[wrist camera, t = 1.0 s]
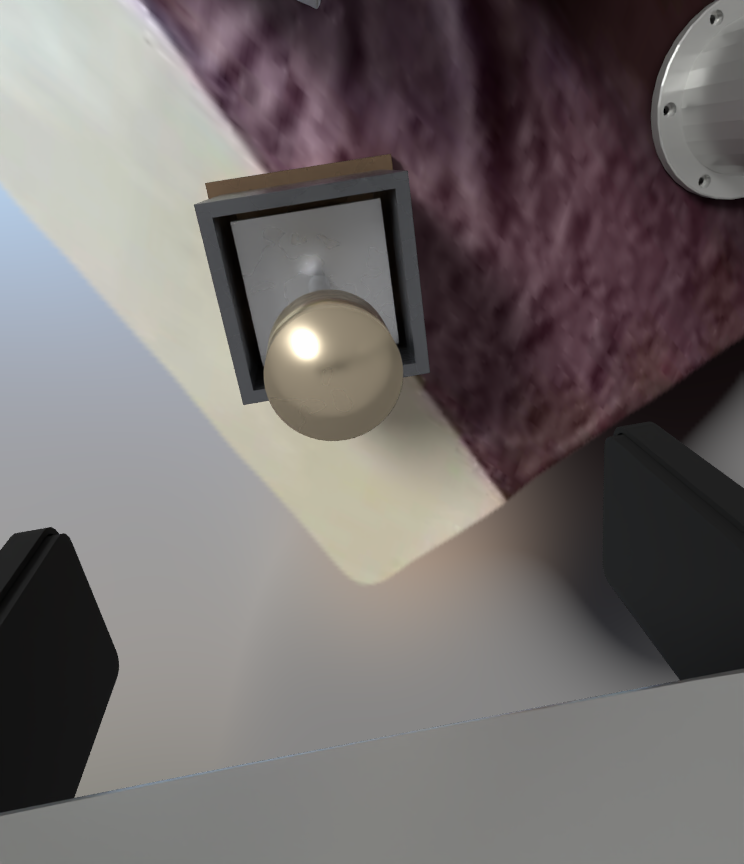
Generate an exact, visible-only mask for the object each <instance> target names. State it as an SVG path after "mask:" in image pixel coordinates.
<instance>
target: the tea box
mask: <svg viewBox="0 0 744 864" xmlns="http://www.w3.org/2000/svg"><path fill="white" fill-rule="evenodd" d="M297 1H300V2H302V3H304V4H307V5H309V6H311V7H313V8H315V9H318V7H319V5H320V2H321V0H297Z"/></svg>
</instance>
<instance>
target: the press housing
mask: <svg viewBox="0 0 744 864" xmlns="http://www.w3.org/2000/svg"><path fill="white" fill-rule="evenodd" d="M205 185H206V189H207V193H208V198H209V199H208V200H205V201H203V202H200V203H197V204H195V205H194V207H195V211H196V215H197V219H198V223H199V227H200V231H201V235H202V239H203V243H204V247H205V251H206V256H207V260H208V264H209V268H210V272H211V276H212V280H213V284H214V288H215V292H216V296H217V300H218V304H219V308H220V312H221V316H222V320H223V324H224V328H225V332H226V336H227V341H228V345H229V349H230V353H231V357H232V361H233V365H234V369H235V373H236V377H237V381H238V385H239V389H240V393H241V397H242V401H243V405H246V404H252V403H258V402H264V401H269V399H268V397H267V393H266V390H265V385H264V366H263V364H262V360H261V355H260V351H259V346H258V342H257V338H256V333H255V329H254V324H253V320H252V315H251V311H250V307H249V302H248V298H247V293H246V289H245V285H244V280H243V276H242V271H241V267H240V263H239V258H238V254H237V249H236V245H235V240H234V236H233V232H232V227H231V223H230V222H231V221H235V220H241V219H248V218H254V217H260V216H266V215H273V214H279V213H285V212H291V211H297V210H304V209H310V208H316V207H322V206H329V205H335V204H341V203H347V202H353V201H360V200H366V199H372V198H380V200H381V208H382V216H383V223H384V231H385V239H386V247H387V254H388V262H389V270H390V278H391V285H392V293H393V301H394V309H395V316H396V324H397V332H398V339H399V343H397V344H396V345H397V347H398V350H399V352H400V355H401V359H402V364H403V377H408V376H414V375H420V374H426V373H430V369H429V360H428V351H427V342H426V333H425V324H424V314H423V305H422V296H421V287H420V278H419V269H418V260H417V251H416V242H415V233H414V224H413V215H412V206H411V196H410V187H409V178H408V171H403V170H393V168H392V159H391V154H387V155H381V156H374V157H368V158H362V159H355V160H349V161H343V162H336V163H330V164H324V165H317V166H311V167H305V168H298V169H292V170H286V171H279V172H273V173H267V174H260V175H254V176H248V177H241V178H235V179H229V180H222V181H216V182H210V183H205Z"/></svg>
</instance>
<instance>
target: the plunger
mask: <svg viewBox="0 0 744 864" xmlns="http://www.w3.org/2000/svg"><path fill="white" fill-rule="evenodd" d="M230 223H231V227H232V232H233V236H234V240H235V245H236V249H237V254H238V258H239V263H240V267H241V271H242V276H243V280H244V285H245V289H246V293H247V298H248V302H249V307H250V311H251V315H252V320H253V324H254V329H255V333H256V338H257V342H258V346H259V351H260V355H261V360H262V364H263V366H264V385H265V390H266V393H267V397H268V399H269V401H270V404H271V406H272V407H273V409H274V410H275V412H276V413H277V415H278V416H279V417H280V418H281V419H282V420H283V421H284V422H285V423H286V424H287V425H288V426H290V427H291V428H292V429H294V430H295V431H297V432H299V433H301V434H303V435H305V436H308V437H311V438H314V439H318V440H326V441H340V440H347V439H351V438H355V437H357V436H360V435H363V434H365V433H367V432H369V431H370V430H372V429H373V428H375V427H376V426H378V425H379V424H380V423H381V422H382V421H383V420H384V419H385V418H386V417H387V416H388V415H389V413H390V412H391V411H392V409H393V408H394V406H395V404H396V402H397V400H398V398H399V395H400V392H401V388H402V383H403V364H402V359H401V355H400V352H399V350H398V347H397V345H396V344H397V343H399V339H398V332H397V324H396V316H395V309H394V301H393V293H392V285H391V278H390V270H389V262H388V254H387V247H386V239H385V231H384V223H383V216H382V208H381V200H380V198H372V199H366V200H360V201H353V202H347V203H341V204H335V205H329V206H322V207H316V208H310V209H304V210H297V211H291V212H285V213H279V214H273V215H266V216H260V217H254V218H248V219H241V220H235V221H231V222H230Z"/></svg>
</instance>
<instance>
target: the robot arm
mask: <svg viewBox="0 0 744 864" xmlns="http://www.w3.org/2000/svg"><path fill="white" fill-rule="evenodd" d="M710 18H711V23H710ZM664 108H665V110H666V111H665V114H664V112H663V110H664ZM651 126H652V137H653V141H654V144H655V148H656V151H657V155H658V157H659V159H660V161H661V162H662V164H663V166H664V168H665V170H666V171H667V172H668V174H669V175H670V176H671V177H672V178H673V180H674V181H675V182H676V183H678V184H679V185H680V186H682V187H683V188H685V189H686V190H687V191H689V192H692V193H694V194H697V195H699V196H701V197H707V198H713V199H731V200H732V199H738V198H744V0H715V1H714V2H712V3H711V4H709V5H707V6H706V7H705V8H704V9H703V10H702V11H701V12H699V13H698V14H697V15H696V16H695V17H694V18H693V19H692V20H691V21H690V22H689V23H688V24H687V26H686V27H685V28H684V29H683V31H682V32H681V33H680V34H679V35H678V37H677V38H676V40H675V41H674V43H673V45H672V47H671V48H670V50H669V52H668V53H667V55H666V57H665V59H664V62H663V64H662V67H661V69H660V72H659V74H658V77H657V81H656V85H655V89H654V93H653V97H652V109H651ZM699 179H700V182H699ZM698 182H699V183H698ZM603 510H604V512H603V569H604V573H605V576H606V579H607V581H608V583H609V584H610V586H611V587H612V589H613V590H614V591H615V592H616V594H617V595H618V597H619V598H620V599H621V601H622V602H623V603H624V605H625V606H626V608H627V609H628V610H629V612H630V613H631V614H632V616H633V617H634V618H635V620H636V621H637V622H638V624H639V625H640V627H641V628H642V629H643V630H644V632H645V633H646V635H647V636H648V637H649V639H650V640H651V641H652V643H653V644H654V646H655V647H656V648H657V650H658V651H659V652H660V653H661V655H662V656H663V657H664V659H665V660H666V662H667V663H668V664H669V666H670V667H671V669H672V670H673V671H674V673H675V674H676V675H677V676H678V678H679V679H680V680H679V681H674V682H669V683H664V684H658V685H653V686H648V687H643V688H637V689H632V690H627V691H621V692H616V693H611V694H606V695H600V696H595V697H590V698H584V699H579V700H574V701H568V702H563V703H558V704H552V705H547V706H542V707H536V708H531V709H526V710H521V711H516V712H510V713H505V714H500V715H495V716H489V717H484V718H479V719H473V720H468V721H463V722H458V723H453V724H448V725H443V726H437V727H432V728H427V729H422V730H416V731H412V732H406V733H401V734H396V735H391V736H385V737H380V738H375V739H370V740H365V741H360V742H355V743H350V744H344V745H340V746H334V747H329V748H324V749H319V750H314V751H309V752H303V753H298V754H293V755H288V756H283V757H278V758H273V759H268V760H263V761H257V762H252V763H247V764H242V765H237V766H232V767H227V768H223V769H217V770H212V771H207V772H202V773H198V774H192V775H187V776H182V777H177V778H172V779H167V780H162V781H157V782H152V783H147V784H142V785H137V786H132V787H127V788H122V789H117V790H112V791H107V792H102V793H97V794H92V795H87V796H82V797H77V798H74V797H75V794H76V791H77V788H78V786H79V783H80V780H81V777H82V774H83V771H84V769H85V766H86V763H87V760H88V757H89V755H90V752H91V749H92V746H93V743H94V740H95V738H96V735H97V732H98V729H99V727H100V724H101V721H102V718H103V715H104V713H105V710H106V707H107V704H108V701H109V698H110V696H111V693H112V690H113V687H114V685H115V682H116V679H117V676H118V671H119V661H118V655H117V652H116V649H115V647H114V644H113V642H112V639H111V637H110V635H109V632H108V630H107V627H106V625H105V622H104V620H103V618H102V615H101V613H100V610H99V608H98V605H97V603H96V600H95V598H94V595H93V593H92V590H91V588H90V586H89V583H88V581H87V578H86V576H85V573H84V571H83V569H82V566H81V564H80V561H79V559H78V556H77V554H76V551H75V549H74V547H73V544H72V542H71V540H70V538H69V537H68V536H67V535H66V534H59V533H58V532H57V531H56V530H55V529H54V528H51V527H49V528H44V529H38V530H32V531H26V532H21V533H15V534H14V535H12V536H11V537H10V539H9V540H8V541H7V543H6V544H5V545H4V547H3V548H2V549H1V550H0V864H744V488H743V487H741V486H740V485H738V484H737V483H736V482H734V481H733V480H732V479H730V478H729V477H727V476H726V475H725V474H723V473H722V472H721V471H719V470H718V469H717V468H715V467H714V466H712V465H711V464H710V463H708V462H707V461H705V460H704V459H703V458H701V457H700V456H699V455H697V454H696V453H695V452H693V451H692V450H690V449H689V448H688V447H686V446H685V445H684V444H682V443H681V442H680V441H678V440H677V439H675V438H674V437H672V436H671V435H670V434H668V433H667V432H666V431H664V430H663V429H662V428H660V427H659V426H658V425H656V424H655V423H653V422H645V423H639V424H634V425H628V426H622V427H617V428H616V430H615V431H614V434H613V436H612V437H608V438H607V439H606V441H605V447H604V506H603Z"/></svg>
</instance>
